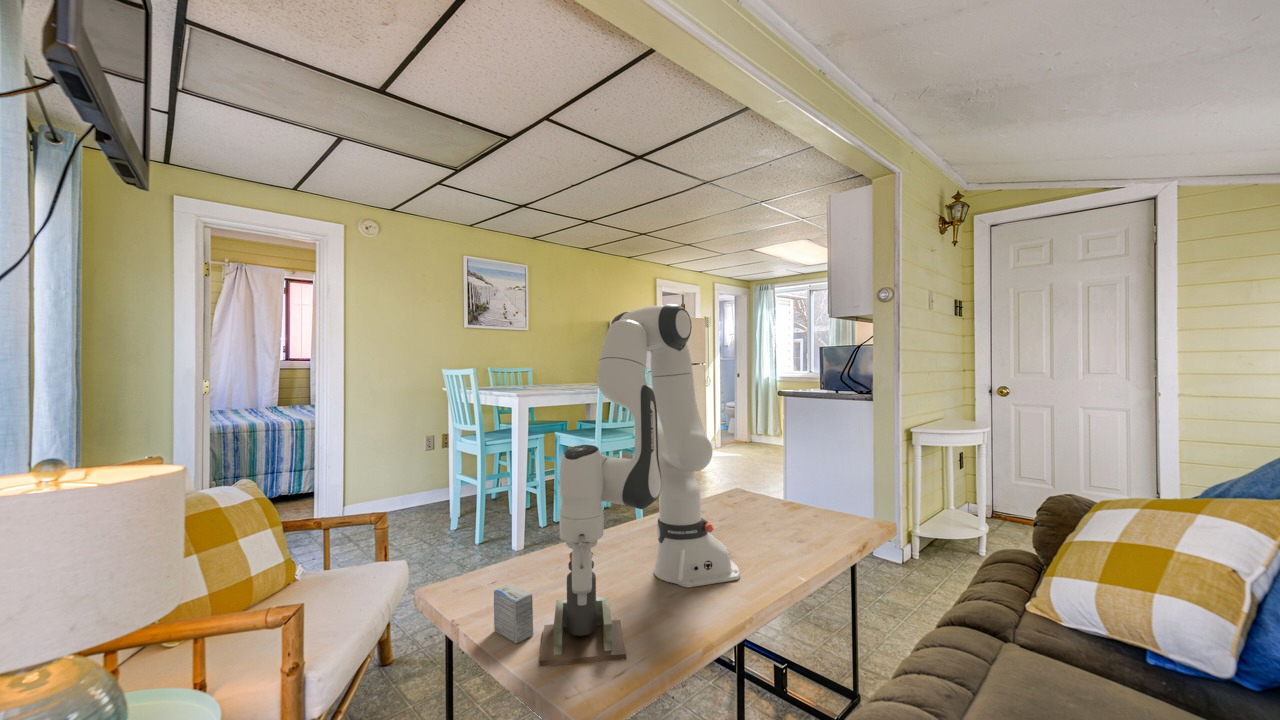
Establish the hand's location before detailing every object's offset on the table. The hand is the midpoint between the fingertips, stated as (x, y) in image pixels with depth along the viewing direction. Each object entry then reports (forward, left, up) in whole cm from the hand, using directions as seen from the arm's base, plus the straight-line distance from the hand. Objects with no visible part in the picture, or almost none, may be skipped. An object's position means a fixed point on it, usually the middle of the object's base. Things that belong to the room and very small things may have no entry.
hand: (582, 596), depth 102 cm
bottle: (0, 0, -7) cm, 7 cm away
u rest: (0, +2, -9) cm, 9 cm away
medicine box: (+14, -4, -9) cm, 17 cm away
